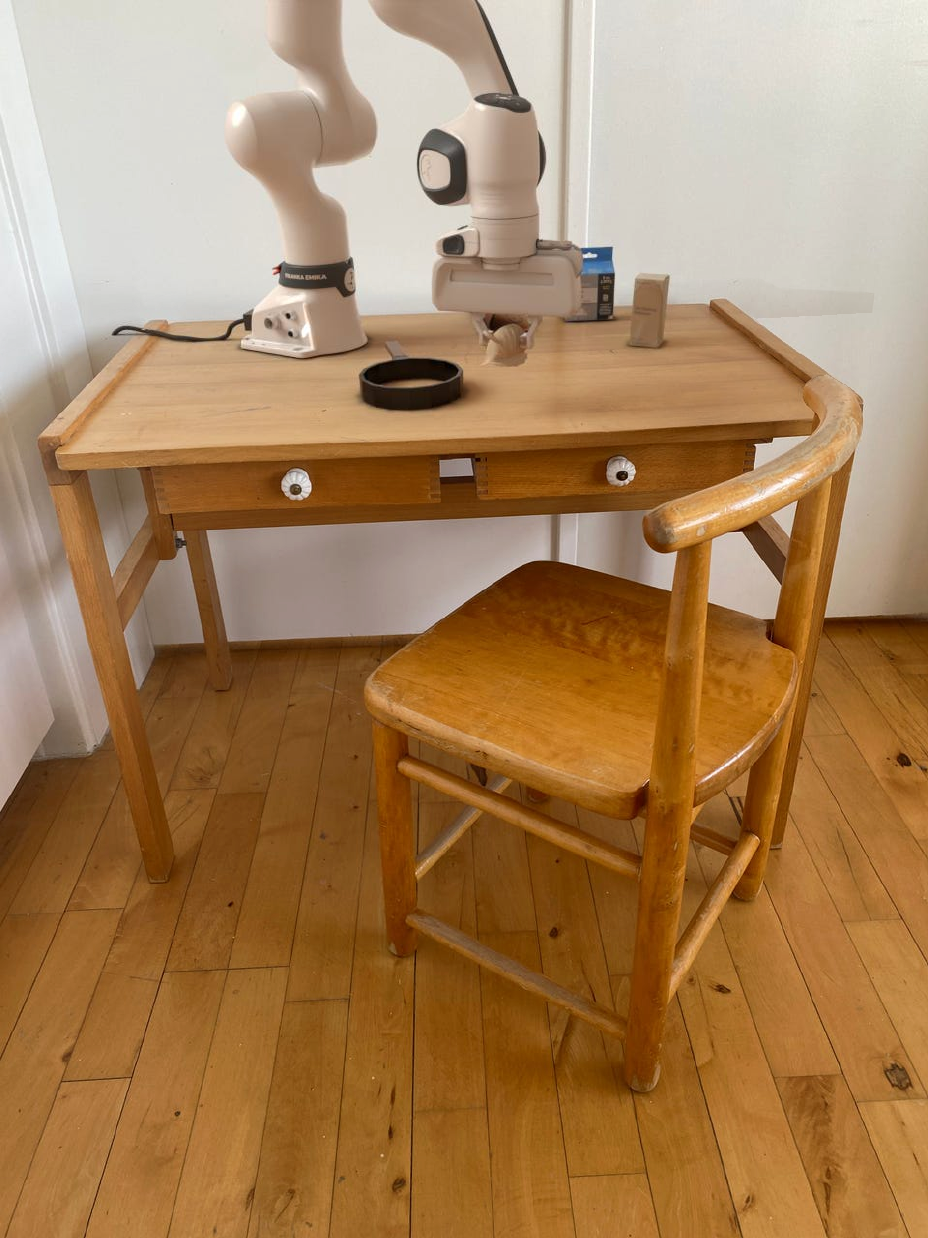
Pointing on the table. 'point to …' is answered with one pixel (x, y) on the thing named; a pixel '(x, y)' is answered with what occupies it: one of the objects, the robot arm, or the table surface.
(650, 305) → the box
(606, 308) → the label tape box
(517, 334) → the decorative ornament
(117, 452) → the table surface
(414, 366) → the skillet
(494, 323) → the sunglasses case
